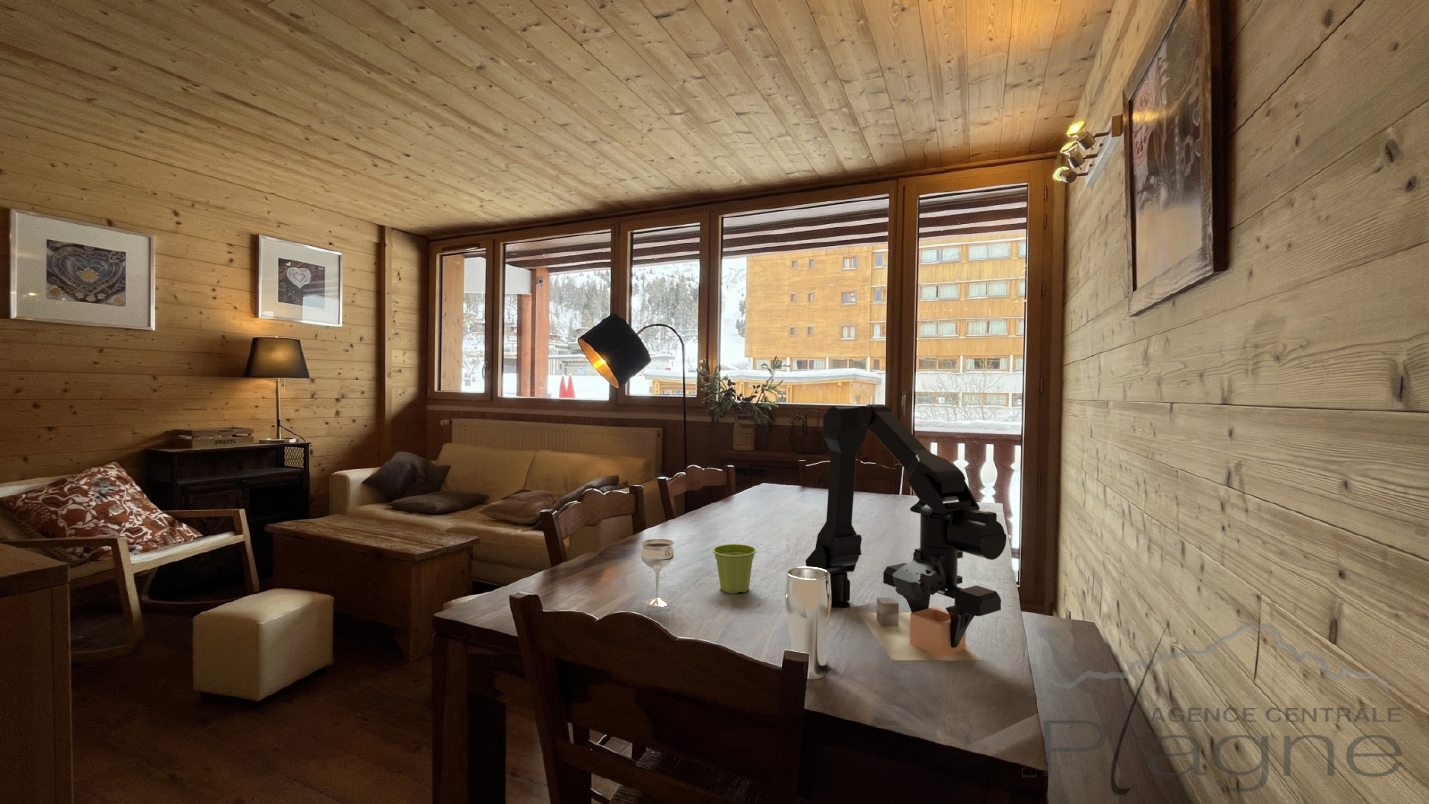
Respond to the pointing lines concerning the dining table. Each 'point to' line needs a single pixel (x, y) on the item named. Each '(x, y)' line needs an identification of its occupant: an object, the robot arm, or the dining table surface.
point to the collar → (933, 632)
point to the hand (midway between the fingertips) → (937, 640)
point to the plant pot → (734, 566)
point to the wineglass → (657, 562)
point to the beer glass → (809, 614)
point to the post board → (902, 634)
